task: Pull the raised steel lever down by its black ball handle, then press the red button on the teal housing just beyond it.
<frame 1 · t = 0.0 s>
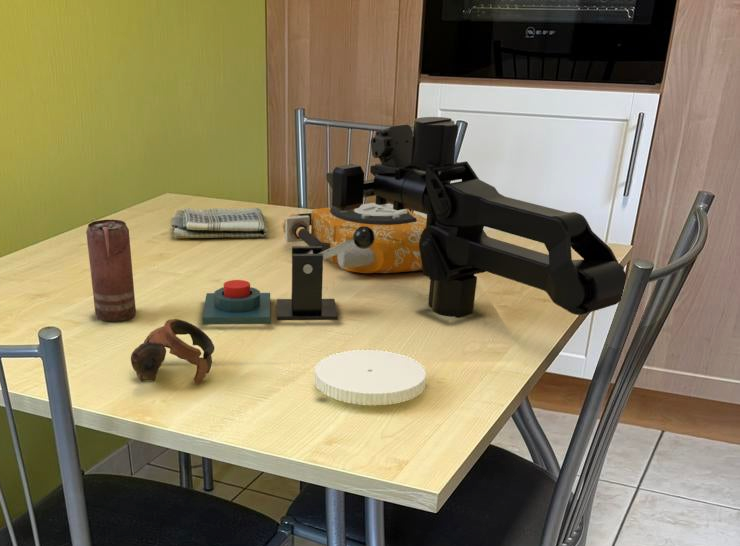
hand: (349, 172, 150), 17 cm above the table, tool horizontal, fingers open, 9 cm apart
cancel button: (236, 289, 139), point 4 cm above the table, slide at 0.2 cm
dish towel: (218, 229, 184), on the table
plastic lid: (369, 390, 117), on the table
device: (359, 260, 165), on the table
toaster lever: (335, 250, 135), point 10 cm above the table, hinge at 24.0°
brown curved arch: (168, 379, 121), on the table
lever bracket: (306, 314, 141), on the table
button housing: (237, 315, 141), on the table
can: (116, 318, 141), on the table
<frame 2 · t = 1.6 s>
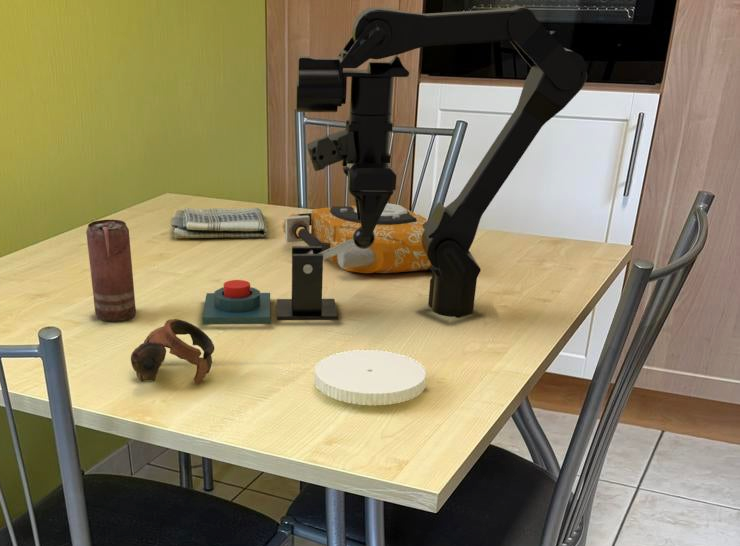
hand: (363, 228, 134), 13 cm above the table, tool pointing down, fingers open, 9 cm apart
nothing on the table moved.
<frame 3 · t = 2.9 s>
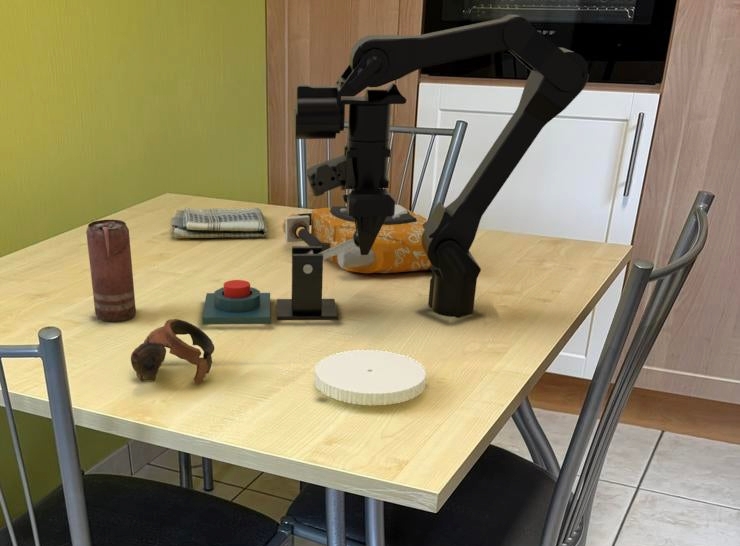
hand: (363, 251, 136), 10 cm above the table, tool pointing down, fingers closed on toaster lever, 3 cm apart
toaster lever: (335, 250, 135), point 10 cm above the table, hinge at 24.0°, touching gripper
everything else where it was.
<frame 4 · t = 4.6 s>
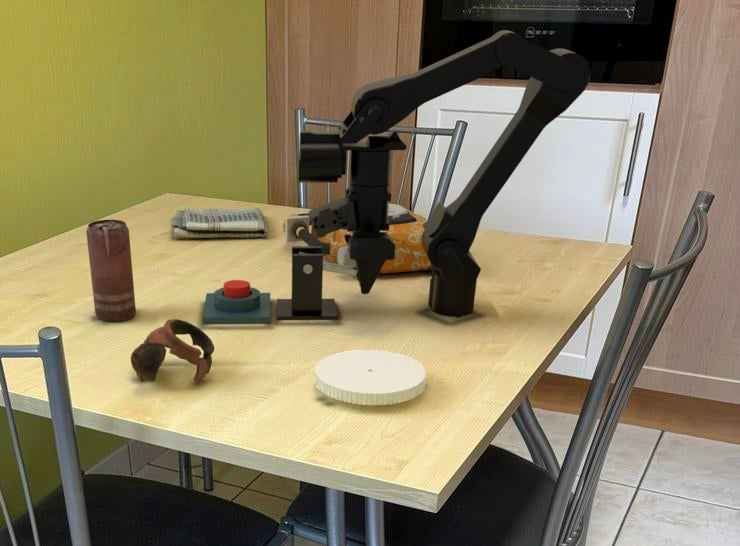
hand: (364, 290, 139), 4 cm above the table, tool pointing down, fingers closed on toaster lever, 3 cm apart
toaster lever: (337, 268, 137), point 7 cm above the table, hinge at -10.8°, touching gripper
everything else where it was.
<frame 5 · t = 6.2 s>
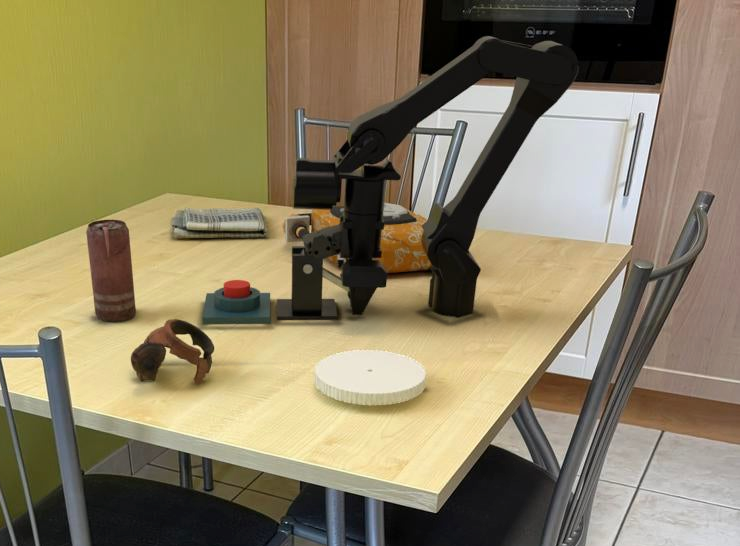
hand: (355, 314, 141), 0 cm above the table, tool pointing down, fingers open, 3 cm apart
toaster lever: (333, 278, 138), point 6 cm above the table, hinge at -30.6°
everything else where it was.
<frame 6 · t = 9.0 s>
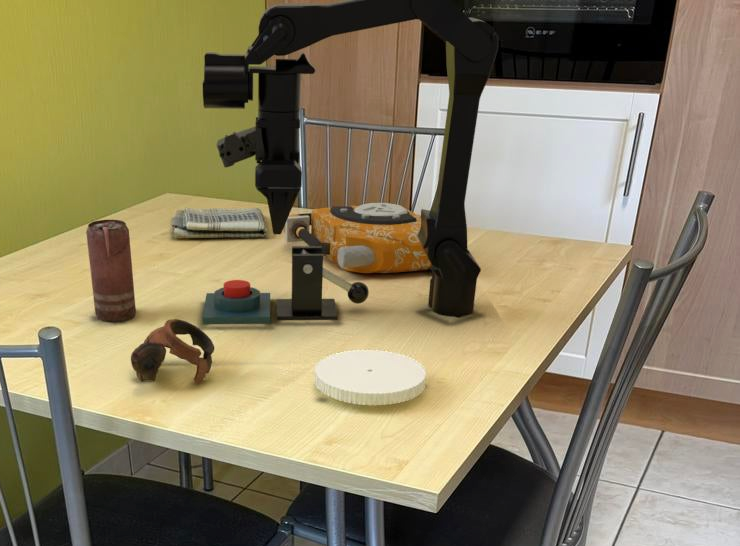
hand: (277, 225, 134), 14 cm above the table, tool pointing down, fingers open, 9 cm apart
nothing on the table moved.
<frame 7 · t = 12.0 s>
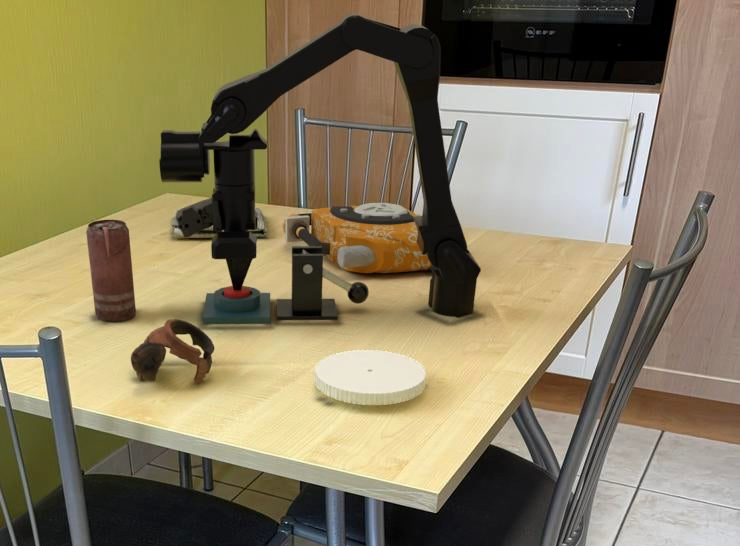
hand: (237, 289, 139), 4 cm above the table, tool pointing down, fingers closed, pressing on cancel button
cancel button: (237, 295, 139), point 3 cm above the table, slide at -0.7 cm, touching gripper
everything else where it was.
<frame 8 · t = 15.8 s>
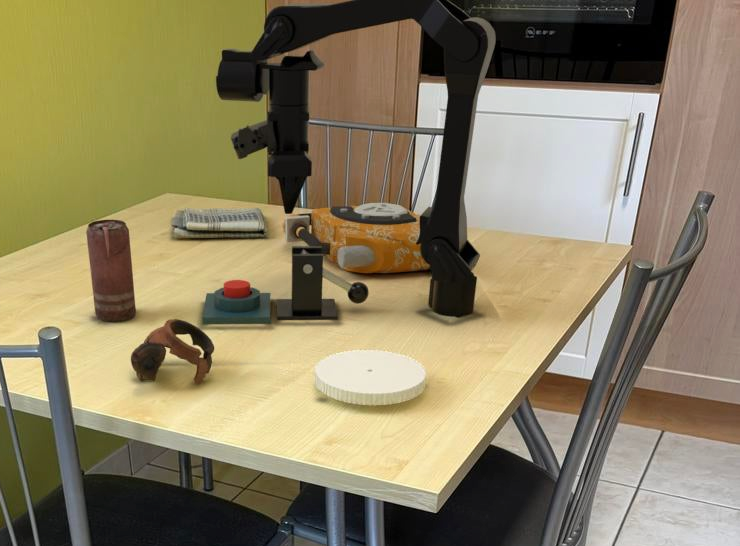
hand: (288, 213, 142), 13 cm above the table, tool pointing down, fingers closed
cancel button: (236, 289, 139), point 4 cm above the table, slide at 0.2 cm
everything else where it was.
at the end: toaster lever at -31° (first picture: +24°); cancel button pushed in 1.0 cm at the most during the clip, back to 0.2 cm at the end; cancel button slide at 0.2 cm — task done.
